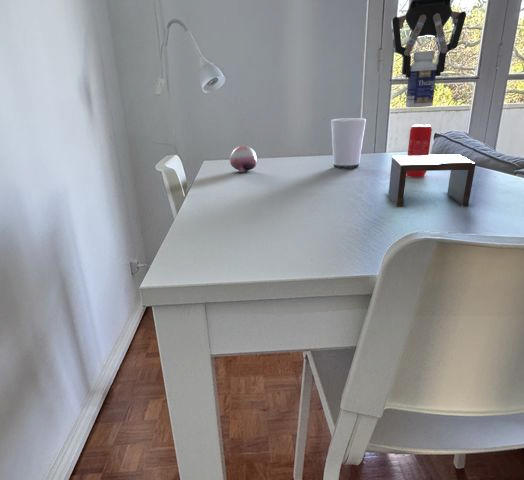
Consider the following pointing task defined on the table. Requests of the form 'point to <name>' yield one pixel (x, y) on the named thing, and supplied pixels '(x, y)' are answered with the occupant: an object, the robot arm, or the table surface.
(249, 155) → the onion
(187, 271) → the table surface
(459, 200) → the shelf
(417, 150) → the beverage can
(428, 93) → the pill bottle
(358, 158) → the cup
